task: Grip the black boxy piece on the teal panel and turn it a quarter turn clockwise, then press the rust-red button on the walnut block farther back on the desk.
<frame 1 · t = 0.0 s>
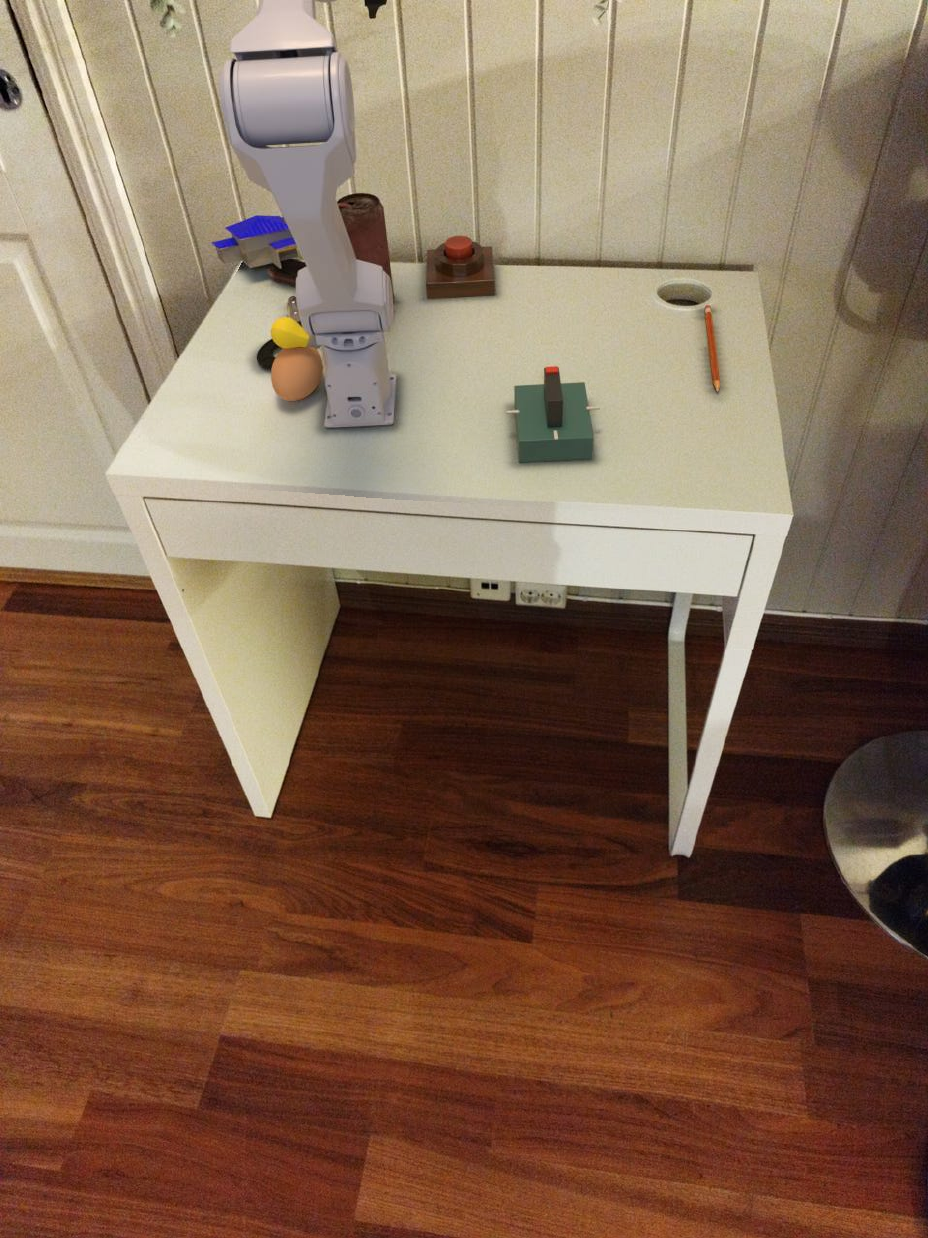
hand: (338, 10, 105), 32 cm above the table, tool tilted 50°, fingers open, 7 cm apart
light bulb: (292, 353, 109), point 5 cm above the table, touching egg
micrometer: (276, 328, 119), point 2 cm above the table
black boxy piece: (553, 395, 102), point 5 cm above the table, hinge at 0.0°
button block: (460, 279, 128), on the table
button: (458, 248, 125), point 4 cm above the table, slide at 0.1 cm
pencil: (711, 351, 115), on the table
can: (371, 307, 125), on the table
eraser: (303, 267, 128), point 2 cm above the table, touching house
egg: (309, 349, 114), point 3 cm above the table, touching light bulb
panel: (552, 432, 106), on the table
house: (270, 257, 133), point 1 cm above the table, touching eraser
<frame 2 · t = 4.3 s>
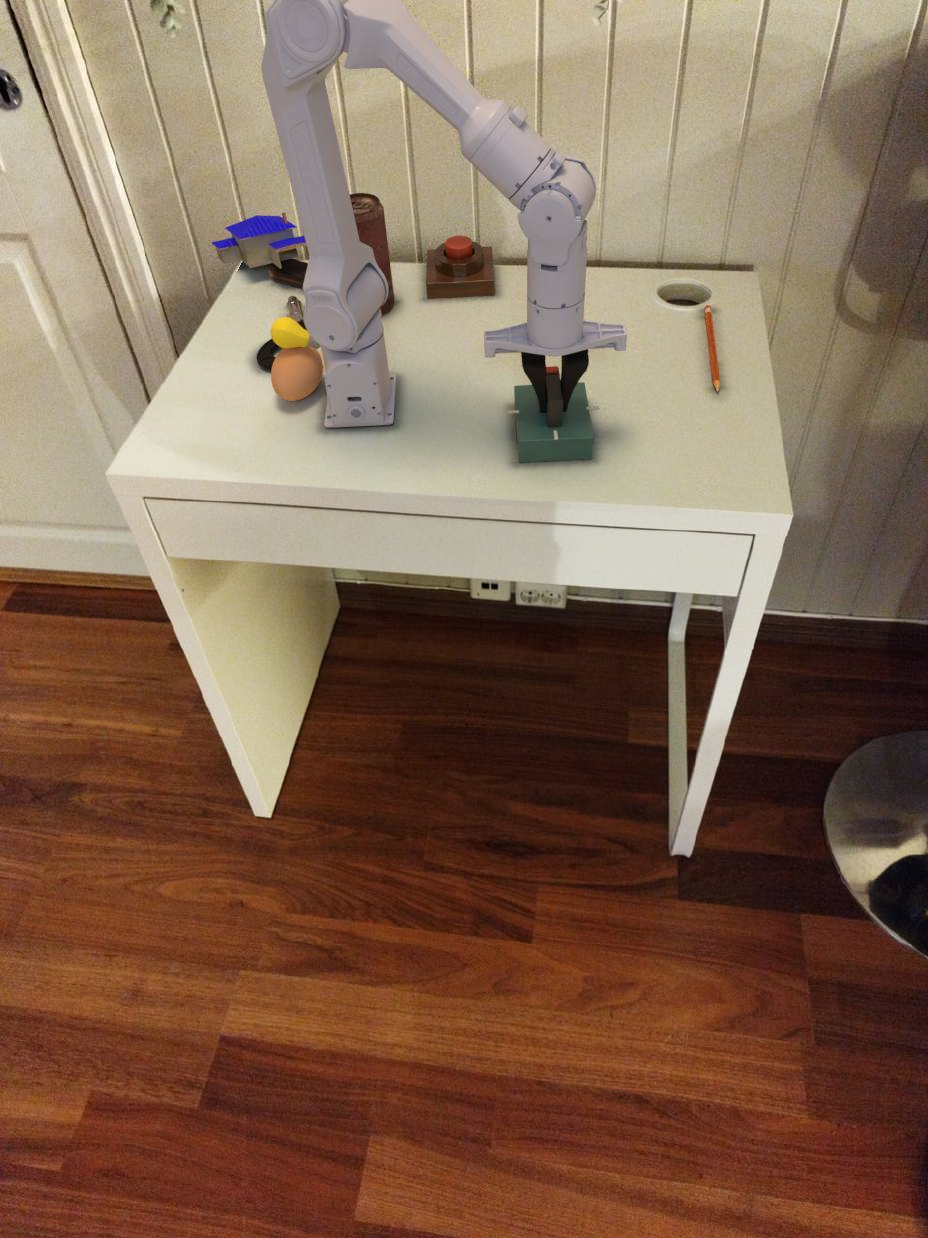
hand: (552, 406, 103), 4 cm above the table, tool pointing down, fingers closed on black boxy piece, 2 cm apart
black boxy piece: (553, 395, 102), point 5 cm above the table, hinge at -0.1°, touching gripper
everything else where it was.
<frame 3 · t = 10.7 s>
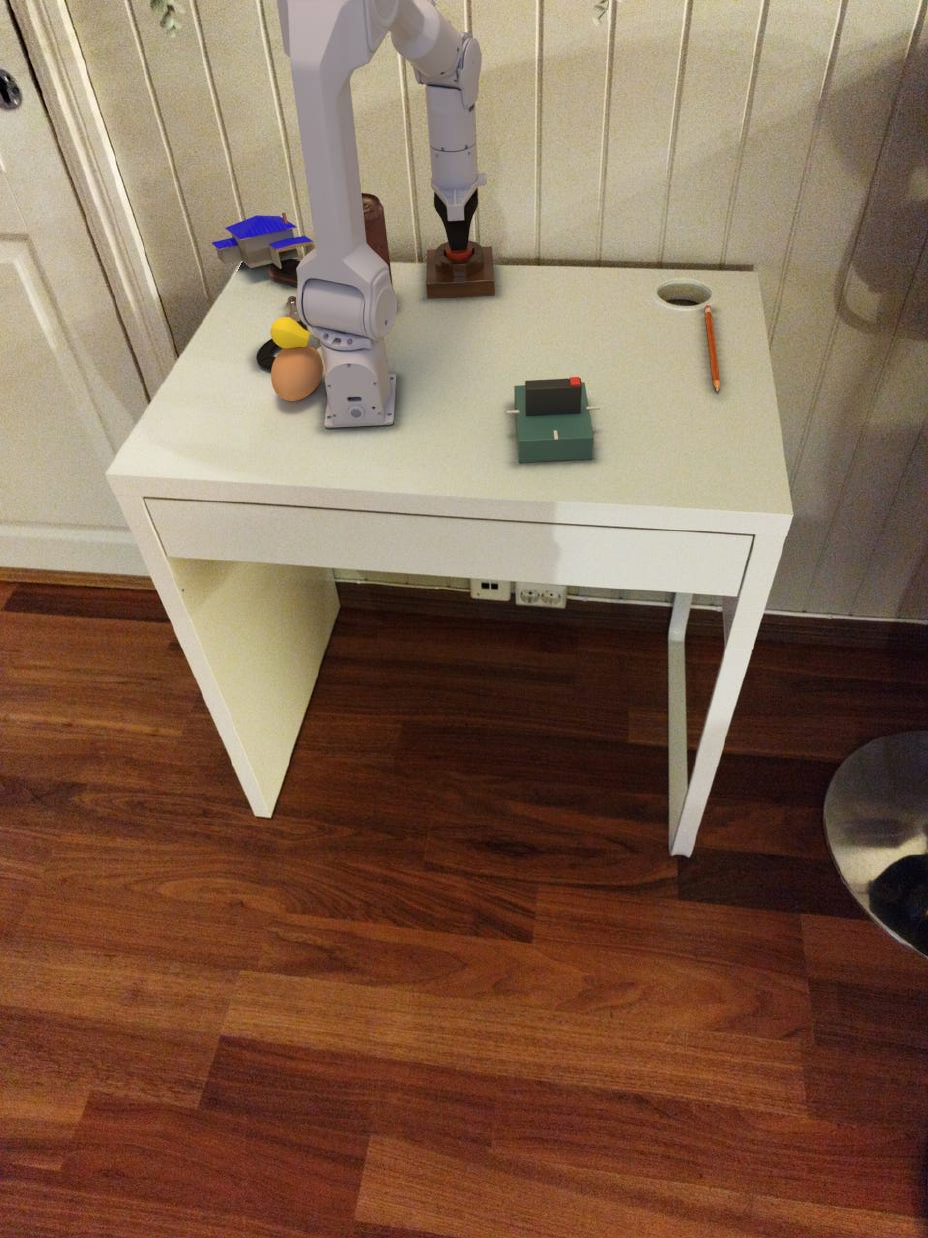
hand: (458, 247, 125), 5 cm above the table, tool pointing down, fingers closed, pressing on button
black boxy piece: (553, 395, 102), point 5 cm above the table, hinge at -90.0°
button: (459, 253, 126), point 4 cm above the table, slide at -0.7 cm, touching gripper
everything else where it was.
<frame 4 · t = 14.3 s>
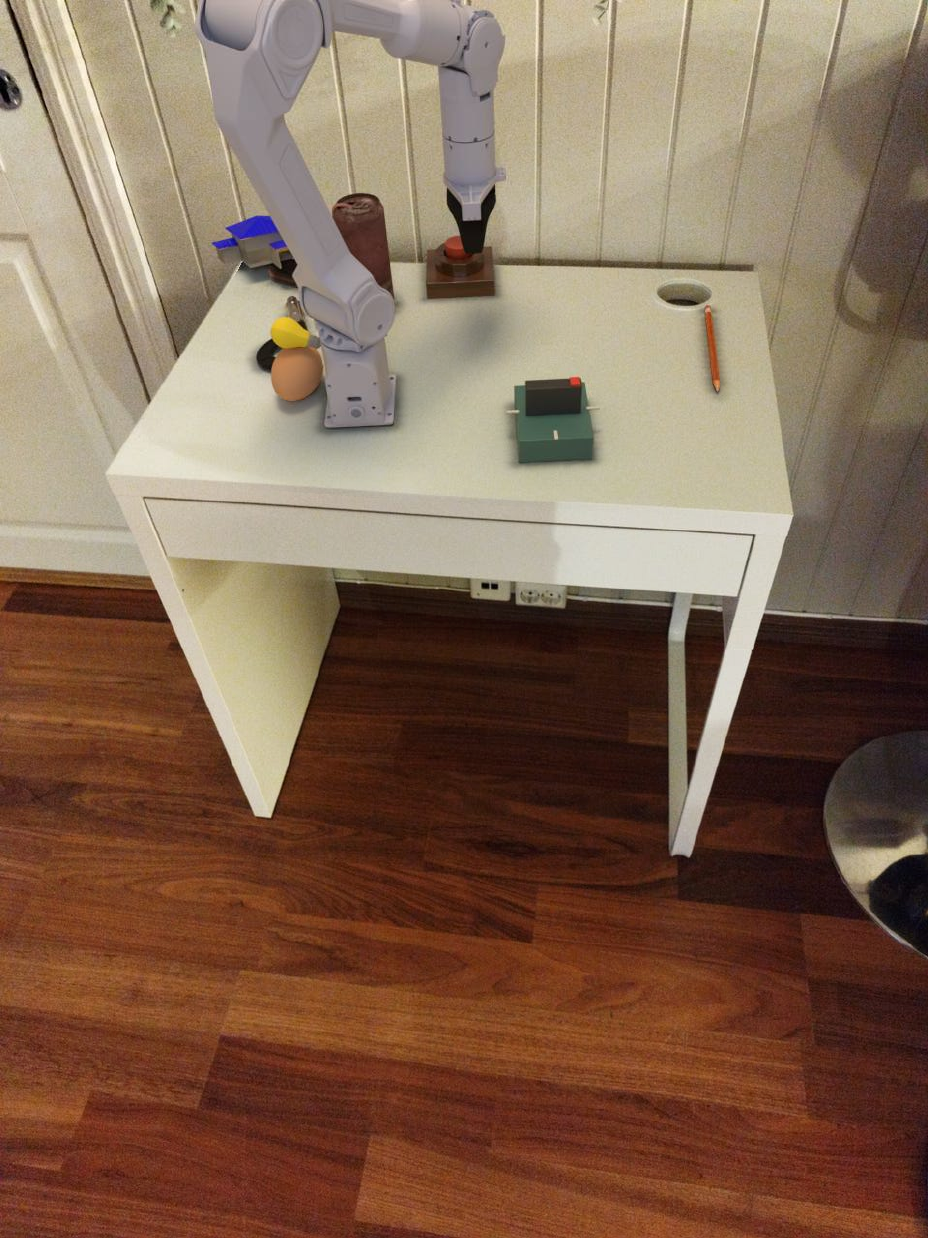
hand: (473, 250, 113), 10 cm above the table, tool pointing down, fingers closed
button: (458, 248, 125), point 4 cm above the table, slide at 0.1 cm
everything else where it was.
at the end: black boxy piece at -90° (first picture: +0°); button pushed in 1.2 cm at the most during the clip, back to where it started at the end; button slide at 0.1 cm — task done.
